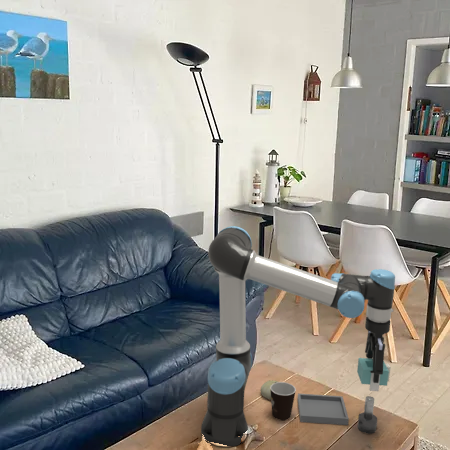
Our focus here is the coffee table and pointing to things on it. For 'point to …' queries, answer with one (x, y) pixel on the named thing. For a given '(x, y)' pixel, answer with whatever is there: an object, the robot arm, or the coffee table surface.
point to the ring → (367, 366)
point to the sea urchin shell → (267, 389)
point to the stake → (367, 417)
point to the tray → (322, 409)
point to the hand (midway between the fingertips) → (371, 383)
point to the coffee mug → (282, 400)
